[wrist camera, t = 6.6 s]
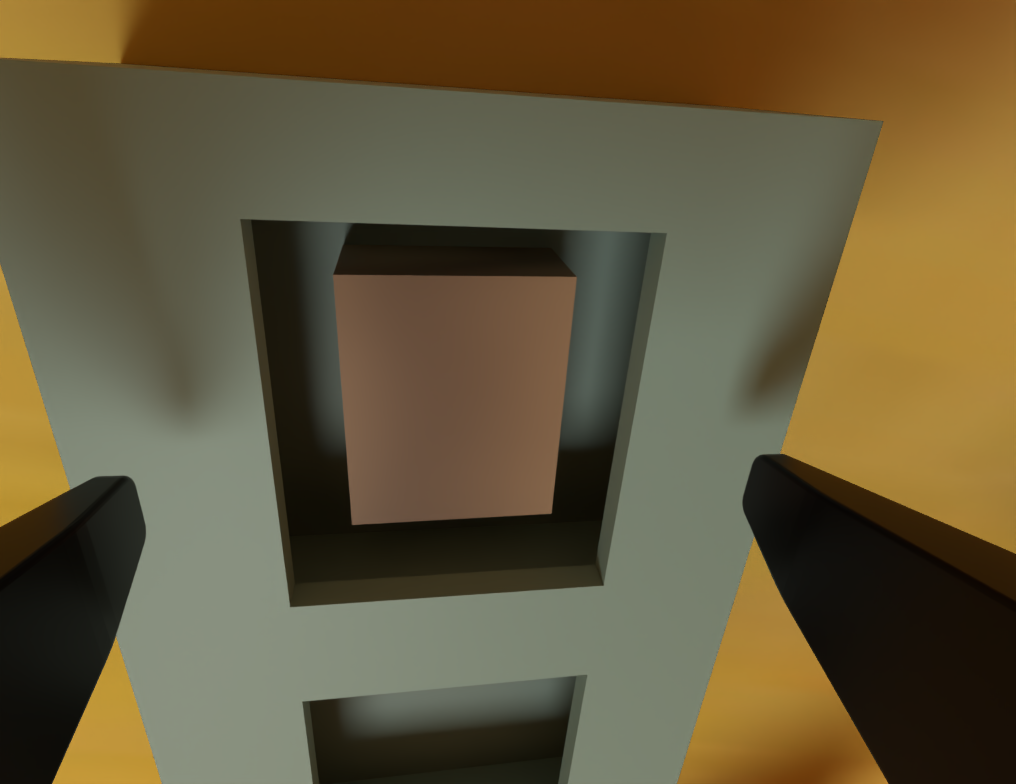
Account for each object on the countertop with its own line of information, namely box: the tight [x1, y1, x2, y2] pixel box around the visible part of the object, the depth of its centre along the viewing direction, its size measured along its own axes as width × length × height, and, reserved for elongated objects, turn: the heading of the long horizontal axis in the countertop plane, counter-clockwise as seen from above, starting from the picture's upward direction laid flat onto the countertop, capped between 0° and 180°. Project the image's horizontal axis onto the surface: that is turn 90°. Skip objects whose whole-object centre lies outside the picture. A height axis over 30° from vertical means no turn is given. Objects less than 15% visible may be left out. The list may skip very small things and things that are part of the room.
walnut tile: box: [333, 245, 577, 525], centre depth 12 cm, size 4×5×2 cm
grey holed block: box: [0, 58, 883, 784], centre depth 15 cm, size 12×20×5 cm, turn 176°
